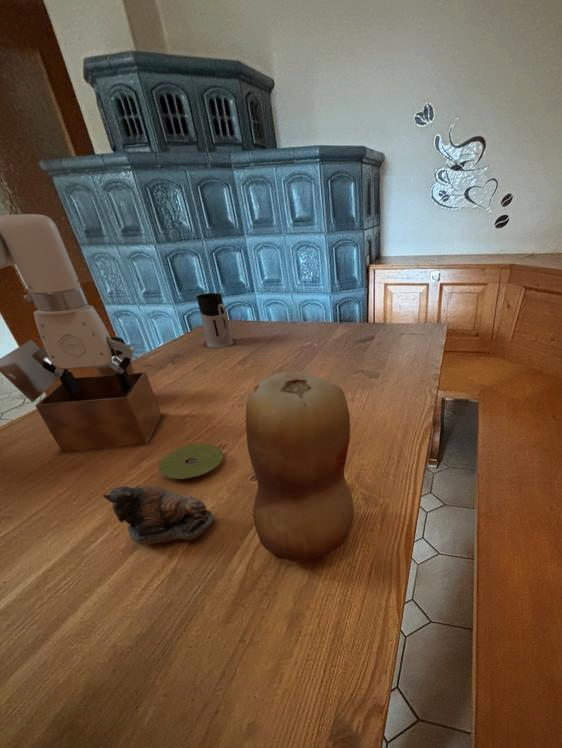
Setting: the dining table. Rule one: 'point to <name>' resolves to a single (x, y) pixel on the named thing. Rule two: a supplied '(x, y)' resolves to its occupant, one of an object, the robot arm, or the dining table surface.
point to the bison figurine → (159, 514)
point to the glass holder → (214, 320)
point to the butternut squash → (299, 465)
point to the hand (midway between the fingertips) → (101, 392)
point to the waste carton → (101, 413)
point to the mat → (190, 461)
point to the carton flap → (27, 371)
